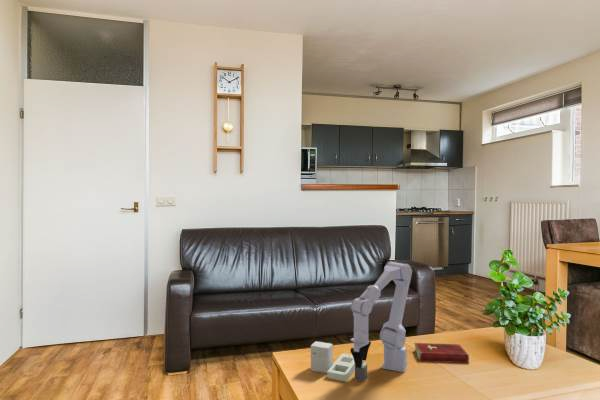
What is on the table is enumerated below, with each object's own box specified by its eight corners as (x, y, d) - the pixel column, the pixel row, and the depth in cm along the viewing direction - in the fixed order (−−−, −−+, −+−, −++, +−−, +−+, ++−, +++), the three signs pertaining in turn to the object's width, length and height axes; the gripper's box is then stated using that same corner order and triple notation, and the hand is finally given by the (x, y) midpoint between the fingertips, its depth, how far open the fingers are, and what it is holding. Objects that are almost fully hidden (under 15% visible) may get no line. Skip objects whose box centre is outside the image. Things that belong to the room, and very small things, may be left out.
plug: (367, 377, 153) (367, 362, 153) (364, 381, 149) (364, 366, 149) (357, 375, 154) (357, 360, 154) (354, 379, 151) (354, 364, 151)
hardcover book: (468, 363, 167) (468, 354, 167) (419, 361, 169) (419, 352, 169) (460, 352, 179) (460, 343, 179) (414, 350, 181) (414, 342, 181)
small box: (333, 368, 160) (333, 343, 160) (328, 374, 155) (328, 348, 155) (315, 365, 164) (315, 340, 164) (310, 370, 159) (310, 345, 159)
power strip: (363, 356, 173) (363, 350, 173) (346, 381, 149) (346, 374, 149) (346, 353, 176) (346, 347, 176) (327, 377, 152) (327, 371, 152)
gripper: (356, 322, 160) (355, 355, 160) (346, 333, 147) (345, 369, 147) (372, 324, 157) (372, 358, 157) (364, 336, 144) (363, 372, 144)
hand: (360, 363), depth 152 cm, fingers open, 7 cm apart
